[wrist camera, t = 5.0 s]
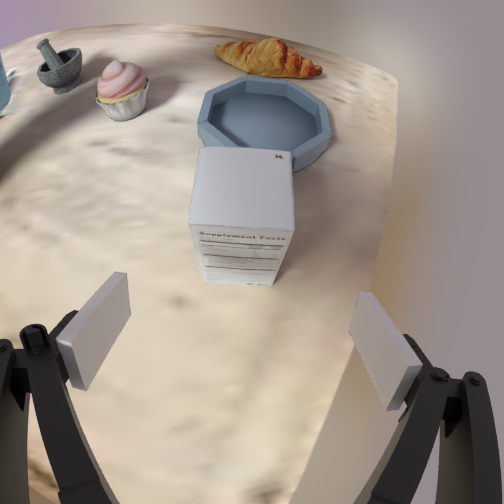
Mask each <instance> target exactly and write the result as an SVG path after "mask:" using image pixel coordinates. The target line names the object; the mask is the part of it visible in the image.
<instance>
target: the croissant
mask: <svg viewBox="0 0 504 504" xmlns="http://www.w3.org/2000/svg"><path fill="white" fill-rule="evenodd" d="M214 53H215V54H216V55H217V56H218V57H219V58H221V59H222V60H223V61H225V62H226V63H228V64H231V65H232V66H234V67H235V68H238V69H240V70H242V71H244V72H246V73H248V74H250V73H251V74H257V75H260V76H266V77H290V78H310V77H314V76H319V75H320V74H321V73H322V67H321V66H318V65H314V64H313V63H312V61H311V60H309V59H308V58H306V57H302V56H300V55H299V54H298V53H297V51H296V50H294V49H293V48H292V47H289V46H286V44H285V43H284V42H283V41H282V40H281V39H278V38H271V39H270V38H269V39H264V40H246V41H242V42H230V43H227V44H224V45H222V46H220V45H218V46H216V47H215V48H214Z"/></svg>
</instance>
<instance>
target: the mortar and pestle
mask: <svg viewBox="0 0 504 504" xmlns="http://www.w3.org/2000/svg"><path fill="white" fill-rule="evenodd" d="M37 49H39V50H40V52H41V53H42V55H43V57H44V59H45V62H44V63H43V64H42V65H41V66H39V68H38V71H37V75H38V77H39V79H40V81H41V82H42V83H43V84H45V85H46V86H48V87H52V88H53V89H54V93H55V94H58V95H60V94H63V93H67V92H68V91H70V90H72V89H74V88H75V87H76V86H77V85H78V84H79V83H80V76H79V73H80V71H81V66H82V54H81V50H80V49H79V48H70V49H67V50H64V51H61V52H59V53H56V52H55V50H54V49H53V48H52V46H51V45H50V44H49V40H48V39H44V40H42V41H41V42H40V43H38V45H37Z"/></svg>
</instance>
